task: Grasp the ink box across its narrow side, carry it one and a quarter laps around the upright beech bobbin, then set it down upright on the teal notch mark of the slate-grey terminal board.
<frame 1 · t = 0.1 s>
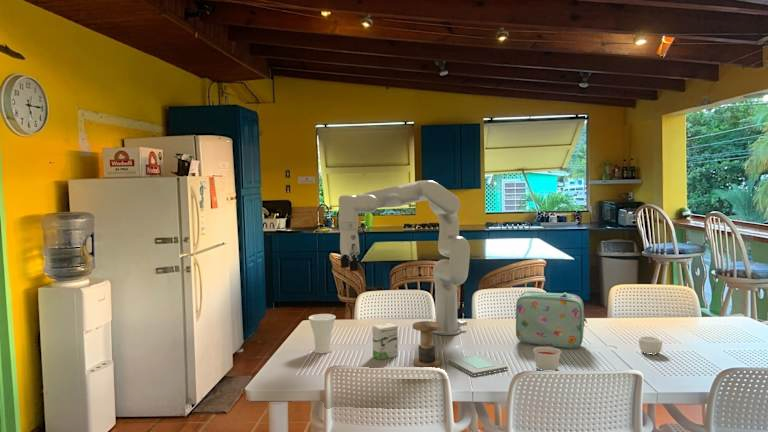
hand: (349, 269, 211), 31 cm above the table, fingers open, 9 cm apart
cup: (322, 351, 207), on the table
candle: (546, 369, 184), on the table
terminal board: (477, 366, 187), on the table
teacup: (649, 352, 200), on the table
lunch box: (550, 344, 212), on the table
bobbin: (427, 363, 191), on the table
ink box: (385, 356, 200), on the table
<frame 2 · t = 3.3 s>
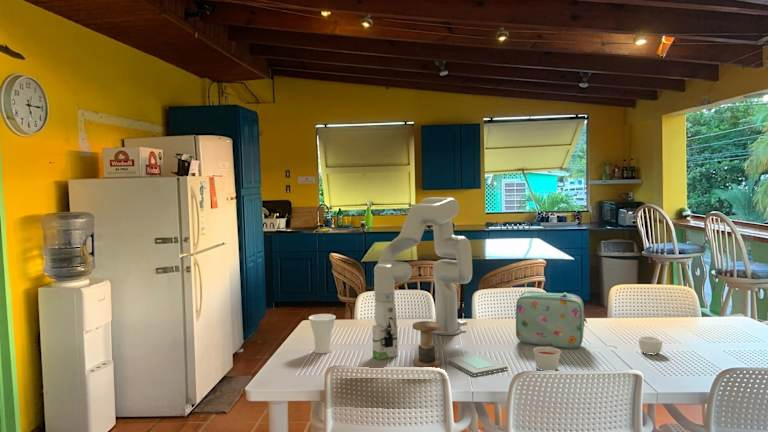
hand: (385, 344, 200), 5 cm above the table, fingers closed on ink box, 5 cm apart
ink box: (385, 356, 200), on the table, touching gripper
everything else where it was.
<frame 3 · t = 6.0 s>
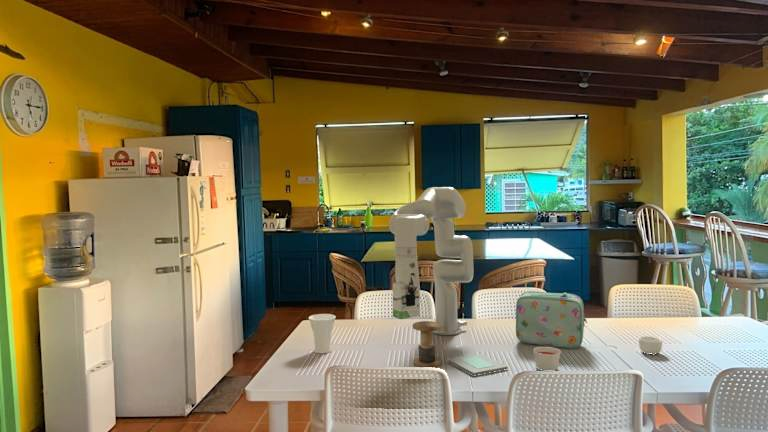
hand: (406, 303, 184), 23 cm above the table, fingers closed on ink box, 5 cm apart
ink box: (406, 316, 184), point 18 cm above the table, touching gripper
everything else where it was.
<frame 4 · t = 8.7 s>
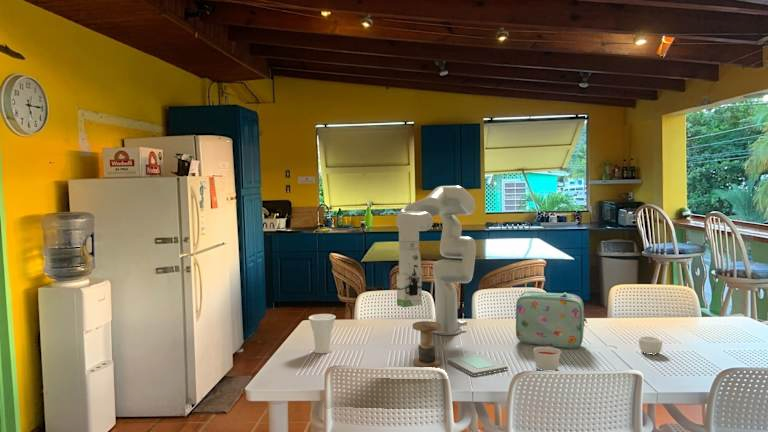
hand: (409, 293, 199), 24 cm above the table, fingers closed on ink box, 5 cm apart
ink box: (409, 305, 200), point 19 cm above the table, touching gripper
everything else where it was.
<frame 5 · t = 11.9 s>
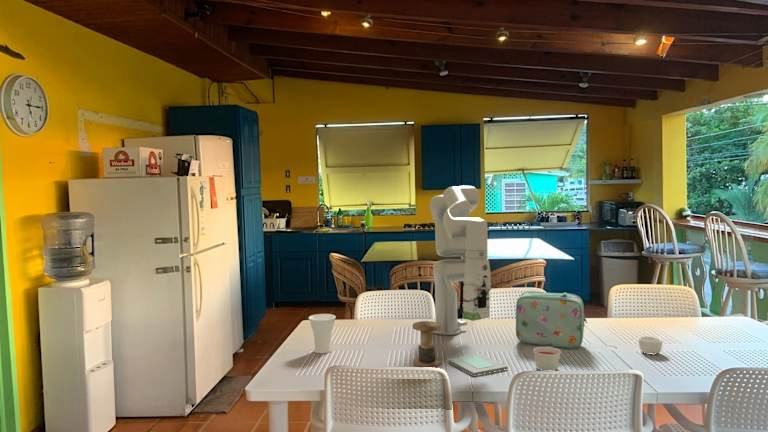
hand: (476, 305, 186), 22 cm above the table, fingers closed on ink box, 5 cm apart
ink box: (476, 318, 186), point 17 cm above the table, touching gripper
everything else where it was.
when the fingers open (7 cm above the table, at t = 14.4 s): ink box stays where it is, resting on terminal board.
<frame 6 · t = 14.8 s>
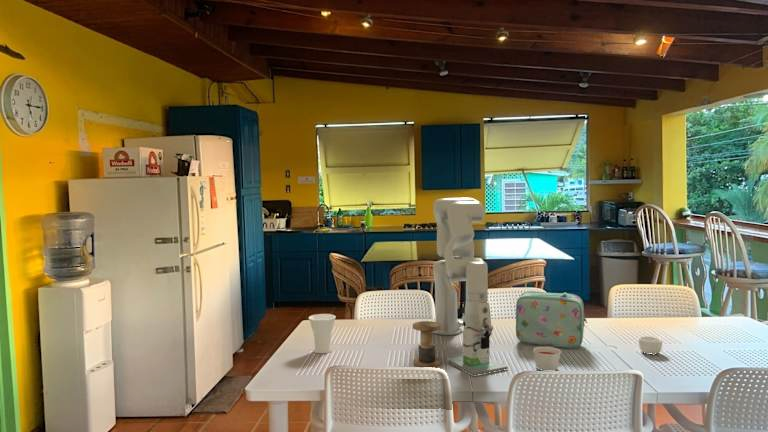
hand: (477, 344, 187), 8 cm above the table, fingers open, 9 cm apart
ink box: (476, 362, 188), point 1 cm above the table, touching terminal board
everything else where it was.
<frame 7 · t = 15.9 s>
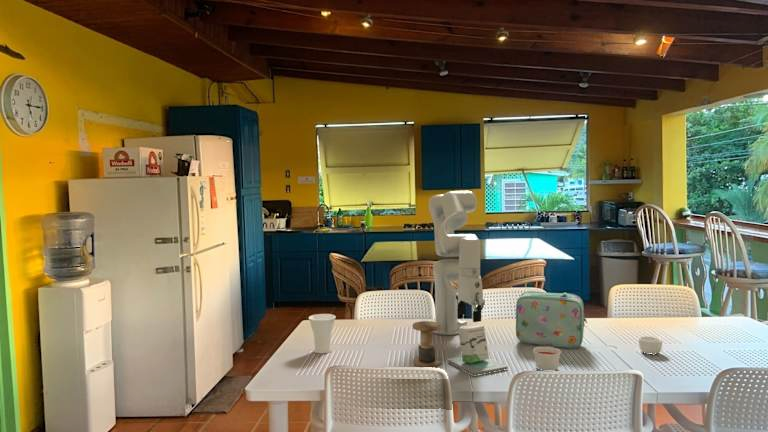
hand: (469, 317, 193), 16 cm above the table, fingers open, 9 cm apart
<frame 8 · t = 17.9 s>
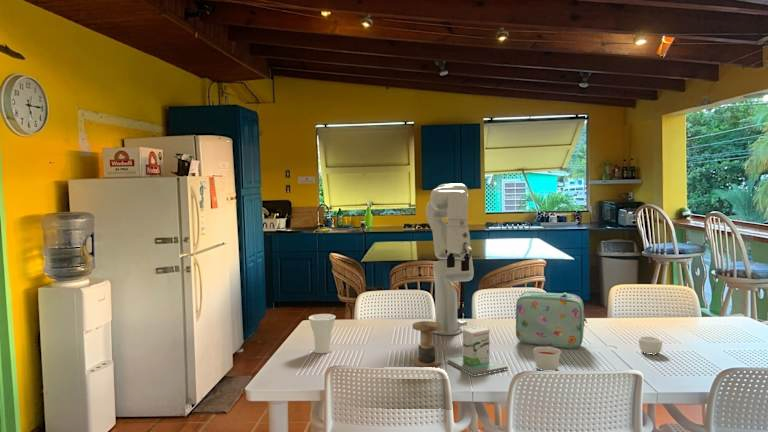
hand: (457, 269, 200), 32 cm above the table, fingers open, 9 cm apart
at the end: ink box inside the target area on the terminal board (0.4 cm from its centre), point 1.1 cm above the terminal board's base; ink box tilted 0°; the gripper is holding nothing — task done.
